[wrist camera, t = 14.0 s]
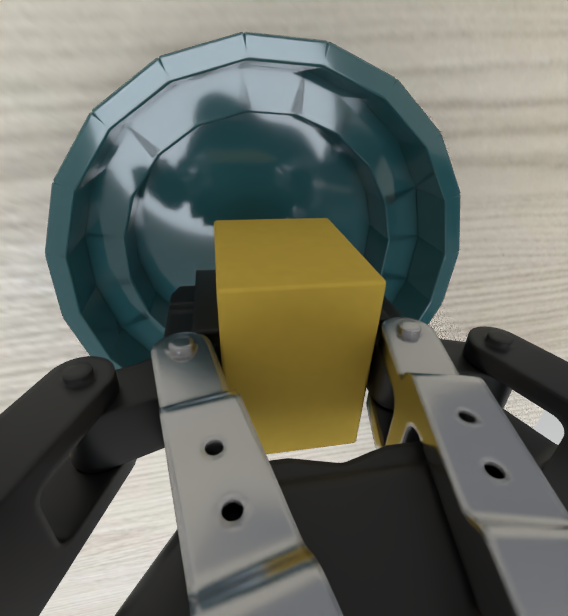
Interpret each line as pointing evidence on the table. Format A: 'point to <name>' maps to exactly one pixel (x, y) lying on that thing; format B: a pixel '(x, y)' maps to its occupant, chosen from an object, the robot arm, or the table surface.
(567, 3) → the table surface
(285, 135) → the bowl
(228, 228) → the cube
